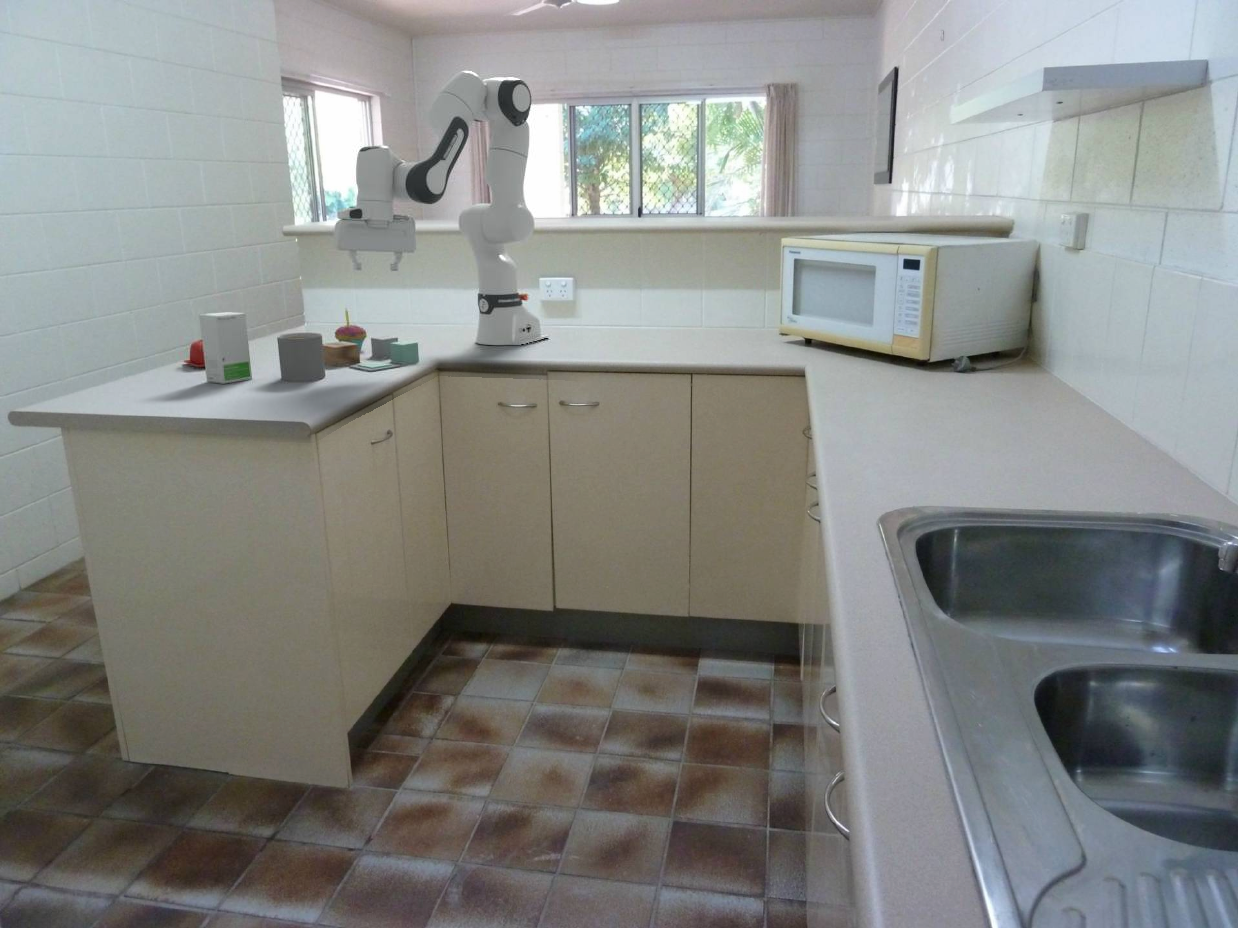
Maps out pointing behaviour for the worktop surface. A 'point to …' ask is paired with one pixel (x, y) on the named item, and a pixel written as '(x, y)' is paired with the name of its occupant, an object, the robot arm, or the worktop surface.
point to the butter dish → (196, 355)
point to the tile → (375, 366)
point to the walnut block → (341, 353)
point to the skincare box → (225, 347)
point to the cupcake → (351, 333)
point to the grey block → (382, 346)
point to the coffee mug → (301, 357)
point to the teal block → (404, 352)
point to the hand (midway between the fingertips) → (376, 270)
